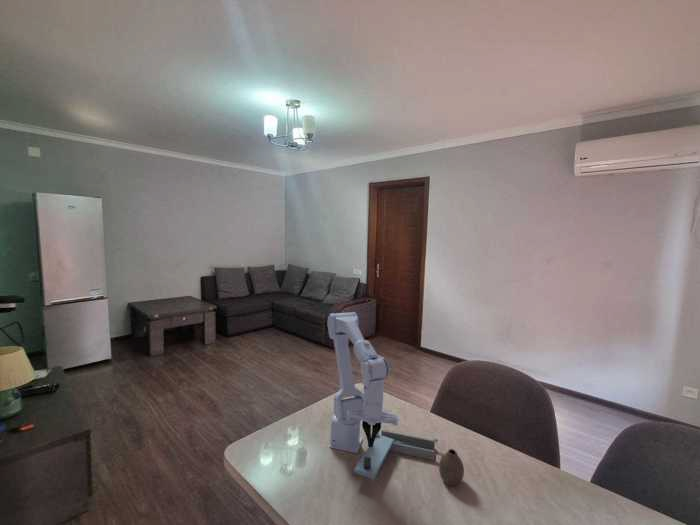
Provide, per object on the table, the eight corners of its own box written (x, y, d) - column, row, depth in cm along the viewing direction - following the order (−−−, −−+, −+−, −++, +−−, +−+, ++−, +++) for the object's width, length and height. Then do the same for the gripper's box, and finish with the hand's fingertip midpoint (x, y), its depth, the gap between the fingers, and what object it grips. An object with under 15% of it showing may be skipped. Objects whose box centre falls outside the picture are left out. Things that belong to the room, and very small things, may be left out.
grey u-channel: (373, 447, 104) (374, 437, 104) (377, 436, 111) (377, 426, 110) (436, 461, 99) (437, 450, 99) (436, 448, 105) (437, 437, 105)
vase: (464, 492, 88) (466, 462, 87) (438, 486, 89) (440, 457, 88) (461, 474, 94) (463, 446, 94) (437, 469, 96) (439, 442, 95)
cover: (375, 436, 106) (375, 426, 106) (393, 442, 103) (394, 431, 103) (352, 471, 89) (352, 459, 89) (373, 479, 87) (374, 467, 86)
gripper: (346, 404, 87) (344, 451, 88) (399, 410, 86) (396, 457, 87) (349, 392, 94) (347, 435, 95) (397, 397, 93) (395, 440, 94)
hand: (370, 444), depth 92 cm, fingers closed
